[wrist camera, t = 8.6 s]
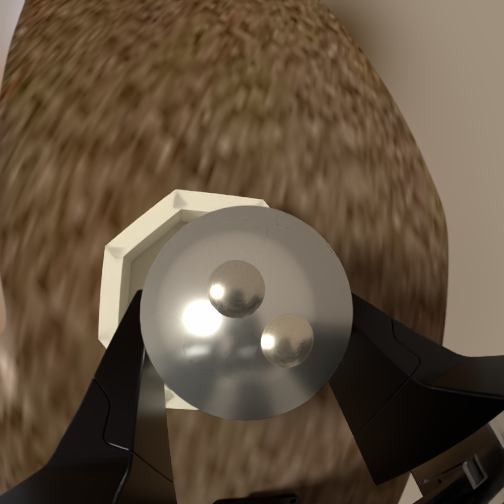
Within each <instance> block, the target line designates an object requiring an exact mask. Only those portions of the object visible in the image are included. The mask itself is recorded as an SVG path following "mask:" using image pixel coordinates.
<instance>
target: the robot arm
mask: <svg viewBox="0 0 504 504" xmlns="http://www.w3.org/2000/svg"><path fill="white" fill-rule="evenodd" d="M142 291H143V289H139V290H137V292H136V293H135V295H134V297H133V299H132V301H131V303H130V304H129V306H128V308H127V310H126V312H125V314H124V316H123V318H122V320H121V321H120V323H119V325H118V327H117V329H116V331H115V333H114V335H113V337H112V339H111V341H110V343H109V345H108V347H107V349H106V351H105V353H104V355H103V358H102V360H101V362H100V364H99V366H98V368H97V370H96V372H95V375H94V379H92V381H91V383H90V385H89V387H88V390H87V392H86V394H85V396H84V398H83V400H82V402H81V404H80V406H79V408H78V410H77V412H76V413H75V415H74V417H73V419H72V421H71V423H70V424H69V426H68V428H67V430H66V431H65V433H64V435H63V437H62V439H61V440H60V442H59V444H58V446H57V448H56V450H55V451H54V453H53V455H52V456H51V458H50V459H49V461H48V462H47V463H46V464H45V465H44V466H43V467H42V468H41V469H39V470H38V471H37V472H35V473H34V474H32V475H31V476H29V477H28V478H26V479H25V480H23V481H22V482H20V483H19V484H17V485H16V486H14V487H13V488H11V489H10V490H8V491H7V492H5V493H4V494H2V495H0V504H177V500H176V494H175V487H174V484H173V483H174V481H173V473H172V466H171V457H170V449H169V439H168V428H167V417H166V403H165V387H164V381H163V380H162V378H161V377H160V376H159V375H158V373H157V371H156V369H155V368H154V366H153V364H152V362H151V360H150V358H149V356H148V353H147V351H146V348H145V345H144V341H143V337H142V332H141V323H140V304H141V297H142ZM351 295H352V305H353V319H352V328H351V335H350V338H349V342H348V346H347V349H346V351H345V354H344V356H343V358H342V361H341V362H340V364H339V366H338V368H337V369H336V371H335V373H334V374H333V375H332V377H331V378H330V379H329V381H328V382H329V384H330V387H331V389H332V391H333V393H334V395H335V397H336V399H337V402H338V404H339V406H340V408H341V410H342V412H343V415H344V417H345V419H346V421H347V423H348V425H349V428H350V430H351V432H352V434H353V436H354V439H355V441H356V443H357V445H358V448H359V450H360V452H361V454H362V456H363V459H364V461H365V463H366V465H367V468H368V470H369V472H370V474H371V476H372V479H373V481H374V483H375V485H376V486H377V485H380V484H382V483H384V482H387V481H389V480H391V479H394V478H396V477H398V476H400V475H402V474H404V473H406V472H408V471H410V472H411V473H412V475H413V477H414V479H415V481H416V483H417V485H418V487H419V489H420V491H421V493H422V495H423V497H422V498H421V499H419V500H418V501H416V502H415V503H413V504H504V355H500V356H484V357H466V356H462V355H459V354H456V353H454V352H452V351H451V350H449V349H447V348H445V347H443V346H441V345H439V344H437V343H435V342H433V341H432V340H430V339H428V338H426V337H424V336H422V335H420V334H419V333H417V332H415V331H413V330H411V329H410V328H408V327H406V326H405V325H403V324H402V323H400V322H398V321H397V320H395V319H394V318H391V317H390V316H389V315H387V314H386V313H384V312H382V311H381V310H379V309H378V308H376V307H374V306H373V305H371V304H370V303H368V302H366V301H365V300H363V299H362V298H360V297H358V296H357V295H355V294H354V293H352V292H351ZM292 499H294V500H292ZM291 500H292V501H291ZM213 504H299V497H298V496H297V495H296V494H290V495H284V496H276V497H268V498H259V499H248V500H233V501H216V502H214V503H213Z"/></svg>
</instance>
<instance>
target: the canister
mask: <svg viewBox="0 0 504 504" xmlns="http://www.w3.org/2000/svg"><path fill="white" fill-rule="evenodd" d="M352 319H353V305H352V295H351V290H350V286H349V282H348V279H347V276H346V273H345V270H344V268H343V266H342V264H341V262H340V260H339V258H338V257H337V255H336V254H335V252H334V250H333V249H332V248H331V246H330V245H329V244H328V243H327V242H326V240H325V239H324V238H323V237H322V236H321V235H320V234H319V233H318V232H317V231H315V230H314V229H313V228H312V227H310V226H309V225H308V224H306V223H305V222H303V221H302V220H300V219H298V218H296V217H294V216H293V215H290V214H288V213H285V212H283V211H280V210H277V209H273V208H268V207H263V206H254V205H243V206H232V207H226V208H222V209H218V210H215V211H212V212H209V213H207V214H205V215H202V216H200V217H198V218H196V219H195V220H193V221H191V222H190V223H188V224H187V225H185V226H184V227H183V228H181V229H180V230H179V231H178V232H177V233H175V234H174V235H173V236H172V237H171V238H170V240H169V241H168V242H167V243H166V244H165V245H164V246H163V248H162V249H161V251H160V252H159V253H158V255H157V256H156V258H155V260H154V262H153V264H152V266H151V268H150V270H149V272H148V274H147V277H146V280H145V283H144V286H143V291H142V297H141V304H140V323H141V332H142V337H143V341H144V345H145V348H146V351H147V353H148V356H149V358H150V360H151V362H152V364H153V366H154V368H155V369H156V371H157V373H158V375H159V376H160V377H161V378H162V380H163V381H164V382H165V383H166V385H167V386H168V387H169V388H170V389H171V390H172V391H173V392H174V393H175V394H176V395H177V396H179V397H180V398H181V399H183V400H184V401H185V402H187V403H188V404H190V405H191V406H193V407H195V408H197V409H199V410H201V411H203V412H205V413H208V414H211V415H214V416H216V417H221V418H225V419H230V420H243V421H247V420H260V419H266V418H271V417H274V416H277V415H281V414H284V413H286V412H288V411H290V410H292V409H294V408H297V407H298V406H300V405H301V404H303V403H305V402H306V401H308V400H309V399H310V398H311V397H313V396H314V395H315V394H316V393H317V392H319V391H320V390H321V388H322V387H323V386H324V385H325V384H326V383H327V382H328V381H329V379H330V378H331V377H332V375H333V374H334V373H335V371H336V369H337V368H338V366H339V364H340V362H341V361H342V358H343V356H344V354H345V351H346V349H347V346H348V342H349V338H350V335H351V328H352Z"/></svg>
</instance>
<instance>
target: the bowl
mask: <svg viewBox="0 0 504 504" xmlns="http://www.w3.org/2000/svg"><path fill="white" fill-rule="evenodd" d="M243 205H254V206H263V207H268V208H269V206H268V205H267V204H266V203H265V202H264V201H263V200H261V199H253V198H246V197H238V196H230V195H221V194H213V193H204V192H194V191H185V190H174V191H173V192H172V193H171V194H169V195H168V196H167V197H165V198H164V199H163V200H161V201H160V202H159V203H157V204H156V205H155V206H154V207H152V208H151V209H150V210H149V211H147V212H146V213H145V214H144V215H142V216H141V217H140V218H139V219H137V220H136V221H135V222H134V223H132V224H131V225H130V226H129V227H128V228H126V229H125V230H124V231H123V232H122V233H120V234H119V235H118V236H117V237H116V238H114V239H113V240H112V241H111V242H110V243H109V244H107V245H106V246H105V253H104V262H103V272H102V283H101V296H100V312H99V338H98V339H99V340H100V341H101V342H102V344H103V345H104V346H105V347H106V349H107V347H108V345H109V343H110V341H111V339H112V337H113V335H114V333H115V331H116V329H117V327H118V325H119V323H120V321H121V320H122V318H123V316H124V314H125V312H126V310H127V308H128V306H129V304H130V303H131V301H132V299H133V297H134V295H135V293H136V292H137V290H139V289H143V286H144V283H145V280H146V277H147V274H148V272H149V270H150V268H151V266H152V264H153V262H154V260H155V258H156V256H157V255H158V253H159V252H160V251H161V249H162V248H163V246H164V245H165V244H166V243H167V242H168V241H169V240H170V238H171V237H172V236H173V235H174V234H175V233H177V232H178V231H179V230H180V229H181V228H183V227H184V226H185V225H187V224H188V223H190V222H191V221H193V220H195V219H196V218H198V217H200V216H202V215H205V214H207V213H209V212H212V211H215V210H218V209H222V208H226V207H232V206H243ZM164 387H165V403H166V408H177V409H195V410H199V409H197V408H195V407H193V406H191V405H190V404H188V403H187V402H185V401H184V400H183V399H181V398H180V397H179V396H177V395H176V394H175V393H174V392H173V391H172V390H171V389H170V388H169V387H168V386H167V385H166V383H165V382H164Z"/></svg>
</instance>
